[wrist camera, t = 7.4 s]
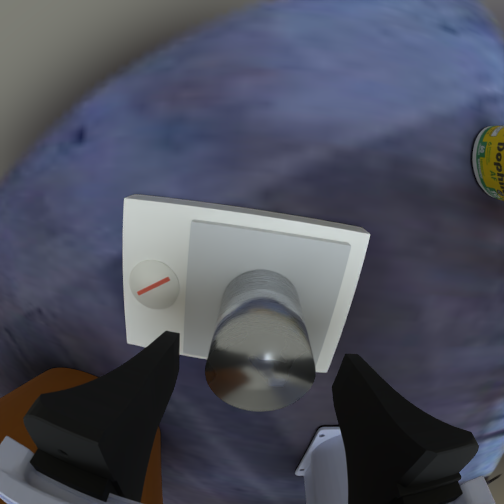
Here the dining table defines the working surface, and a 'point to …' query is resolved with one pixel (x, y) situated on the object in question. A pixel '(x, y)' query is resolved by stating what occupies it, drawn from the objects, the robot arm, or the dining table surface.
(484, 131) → the supplement bottle
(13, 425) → the flower pot
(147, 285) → the scale
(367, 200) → the dining table surface
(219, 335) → the cylinder
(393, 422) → the robot arm
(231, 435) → the dining table surface
